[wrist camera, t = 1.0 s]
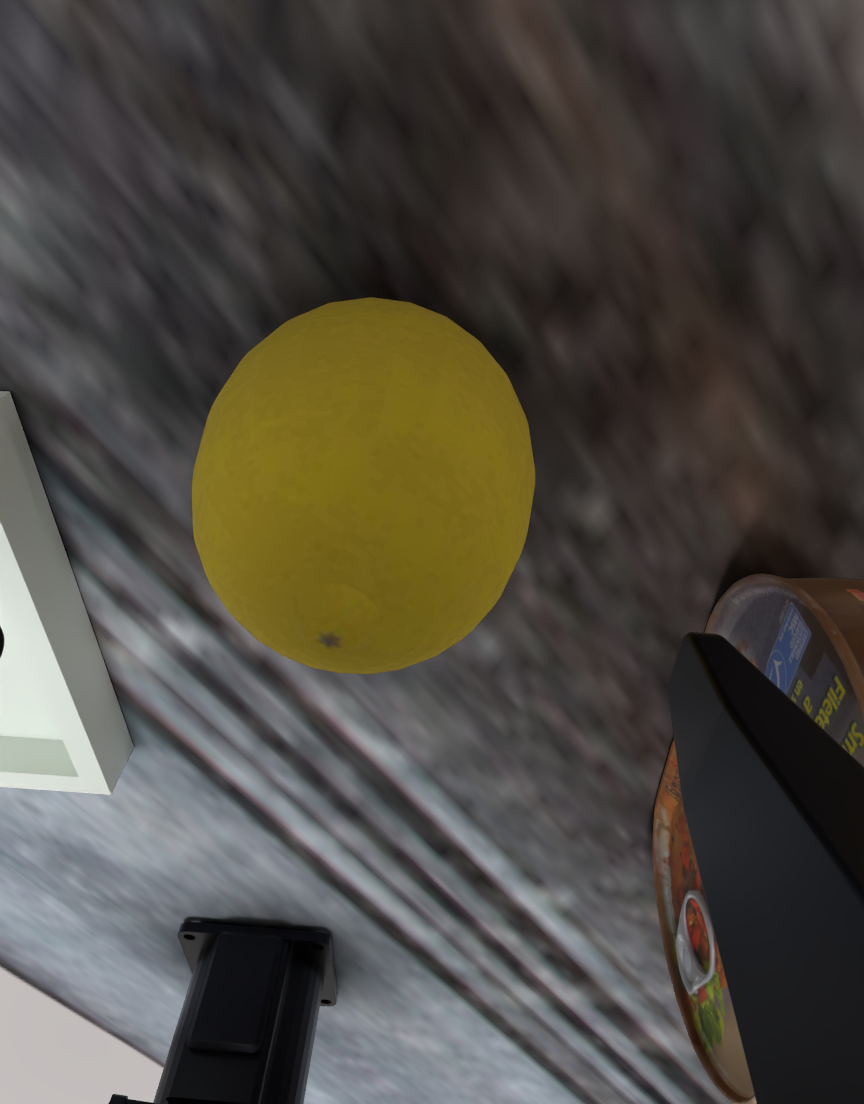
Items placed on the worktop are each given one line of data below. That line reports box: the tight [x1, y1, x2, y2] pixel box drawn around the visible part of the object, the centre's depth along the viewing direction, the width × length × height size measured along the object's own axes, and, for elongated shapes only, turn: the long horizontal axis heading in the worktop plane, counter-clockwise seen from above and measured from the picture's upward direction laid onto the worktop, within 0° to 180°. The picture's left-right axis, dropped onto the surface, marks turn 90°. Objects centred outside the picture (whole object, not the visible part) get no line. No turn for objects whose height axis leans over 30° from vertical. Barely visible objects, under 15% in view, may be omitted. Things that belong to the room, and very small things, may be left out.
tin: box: [653, 574, 864, 1104], centre depth 18 cm, size 15×3×8 cm, turn 0°
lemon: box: [192, 297, 535, 674], centre depth 12 cm, size 6×6×8 cm
